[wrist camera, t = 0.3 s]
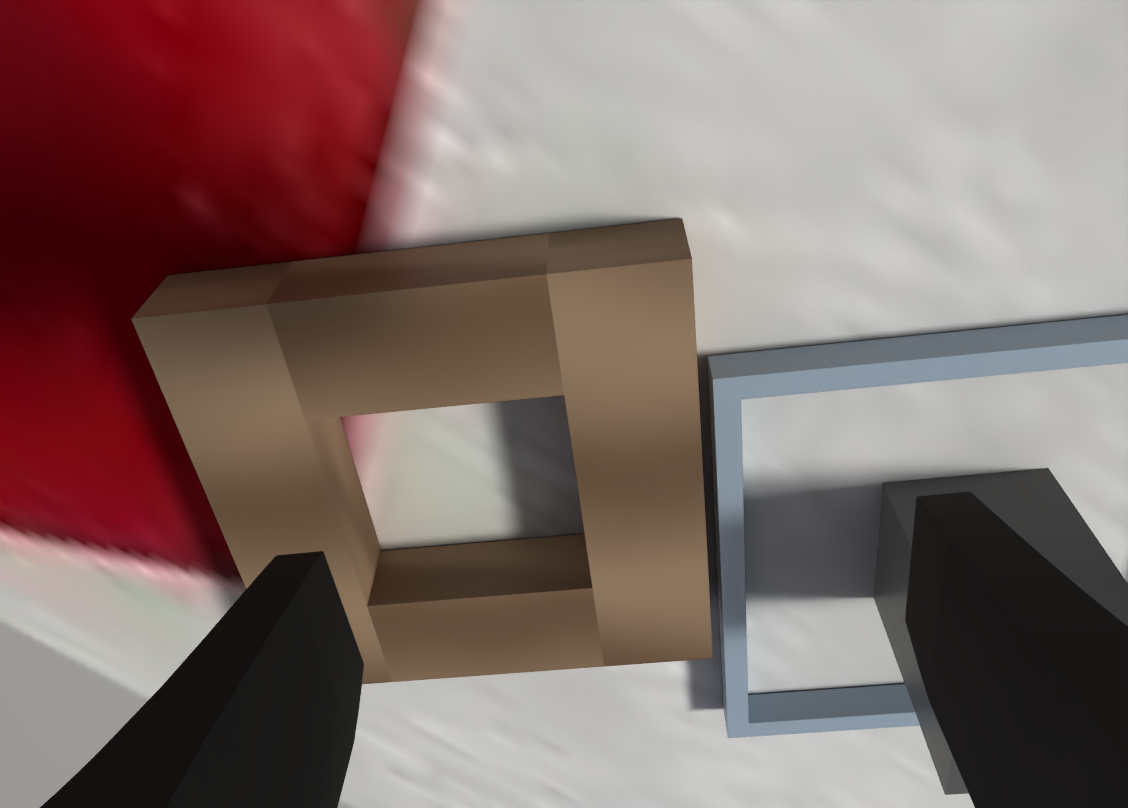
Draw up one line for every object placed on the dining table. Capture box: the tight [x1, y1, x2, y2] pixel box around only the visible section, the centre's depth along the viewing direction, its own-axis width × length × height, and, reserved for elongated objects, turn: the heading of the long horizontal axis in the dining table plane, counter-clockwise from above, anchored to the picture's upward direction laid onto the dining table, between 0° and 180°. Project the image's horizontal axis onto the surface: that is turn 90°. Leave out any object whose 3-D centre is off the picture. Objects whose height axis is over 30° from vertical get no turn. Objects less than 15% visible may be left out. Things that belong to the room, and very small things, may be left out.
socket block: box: [131, 219, 713, 684], centre depth 22 cm, size 11×11×2 cm
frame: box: [708, 315, 1128, 738], centre depth 24 cm, size 12×12×1 cm
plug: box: [874, 468, 1128, 795], centre depth 22 cm, size 4×4×6 cm
